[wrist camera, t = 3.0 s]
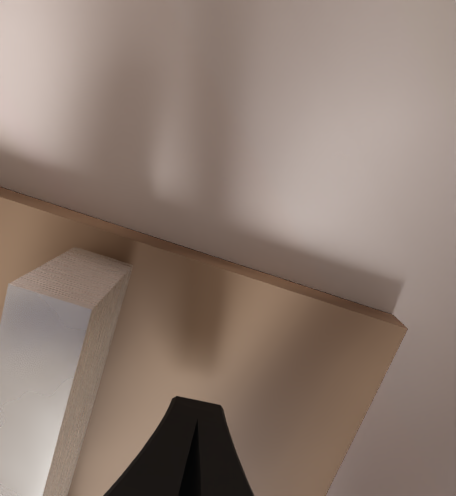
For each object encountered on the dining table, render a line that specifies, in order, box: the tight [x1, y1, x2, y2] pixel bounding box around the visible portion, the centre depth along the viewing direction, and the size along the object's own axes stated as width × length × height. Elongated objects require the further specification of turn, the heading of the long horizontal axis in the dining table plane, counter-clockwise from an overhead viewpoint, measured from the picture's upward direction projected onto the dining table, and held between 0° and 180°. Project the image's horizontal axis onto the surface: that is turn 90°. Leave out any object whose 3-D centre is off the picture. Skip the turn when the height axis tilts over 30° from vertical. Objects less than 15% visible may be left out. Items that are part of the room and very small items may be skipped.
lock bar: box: [0, 247, 133, 496], centre depth 10 cm, size 13×3×3 cm, turn 161°
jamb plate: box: [0, 187, 408, 496], centre depth 12 cm, size 18×12×1 cm, turn 71°
